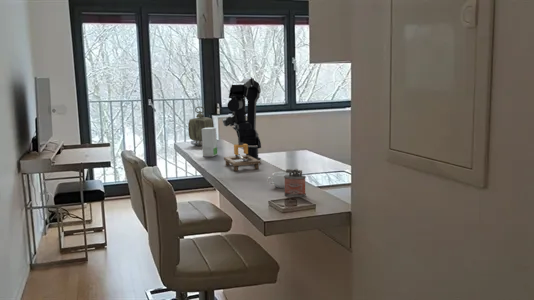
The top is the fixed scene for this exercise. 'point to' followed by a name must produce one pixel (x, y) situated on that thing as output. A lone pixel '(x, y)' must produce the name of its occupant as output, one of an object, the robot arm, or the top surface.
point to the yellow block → (240, 144)
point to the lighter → (294, 183)
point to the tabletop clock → (199, 126)
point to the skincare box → (209, 142)
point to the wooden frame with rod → (231, 161)
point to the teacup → (278, 179)
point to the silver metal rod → (242, 158)
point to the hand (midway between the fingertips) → (240, 142)
